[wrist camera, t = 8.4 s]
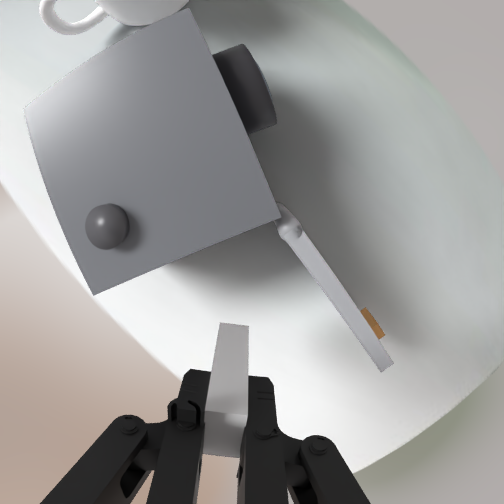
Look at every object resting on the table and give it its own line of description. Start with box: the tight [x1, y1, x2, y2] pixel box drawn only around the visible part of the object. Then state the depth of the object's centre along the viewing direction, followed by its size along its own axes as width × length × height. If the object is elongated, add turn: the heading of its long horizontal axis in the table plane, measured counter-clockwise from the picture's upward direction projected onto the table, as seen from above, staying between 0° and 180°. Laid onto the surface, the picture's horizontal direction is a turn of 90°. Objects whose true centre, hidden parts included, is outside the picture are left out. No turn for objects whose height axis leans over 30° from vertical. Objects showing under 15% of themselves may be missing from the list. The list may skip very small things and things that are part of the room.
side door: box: [273, 203, 394, 372], centre depth 20 cm, size 2×12×8 cm, turn 37°
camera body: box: [23, 8, 281, 296], centre depth 18 cm, size 12×13×10 cm
